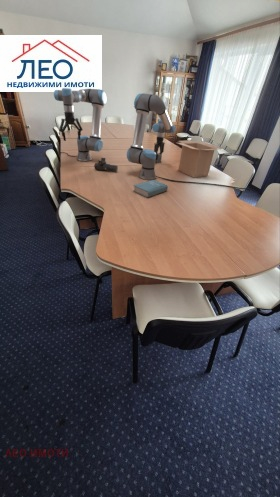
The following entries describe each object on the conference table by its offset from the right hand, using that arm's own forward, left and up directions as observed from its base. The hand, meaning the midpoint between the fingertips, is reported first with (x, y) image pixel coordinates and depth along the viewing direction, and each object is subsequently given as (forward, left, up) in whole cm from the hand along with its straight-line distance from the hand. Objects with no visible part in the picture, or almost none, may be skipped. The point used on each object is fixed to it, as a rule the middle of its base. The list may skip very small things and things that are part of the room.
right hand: (157, 159), depth 248 cm
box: (-31, +35, -3) cm, 47 cm away
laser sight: (+57, +36, -3) cm, 68 cm away
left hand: (+85, +40, +24) cm, 97 cm away
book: (+20, +86, -3) cm, 89 cm away
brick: (0, 0, -3) cm, 3 cm away
